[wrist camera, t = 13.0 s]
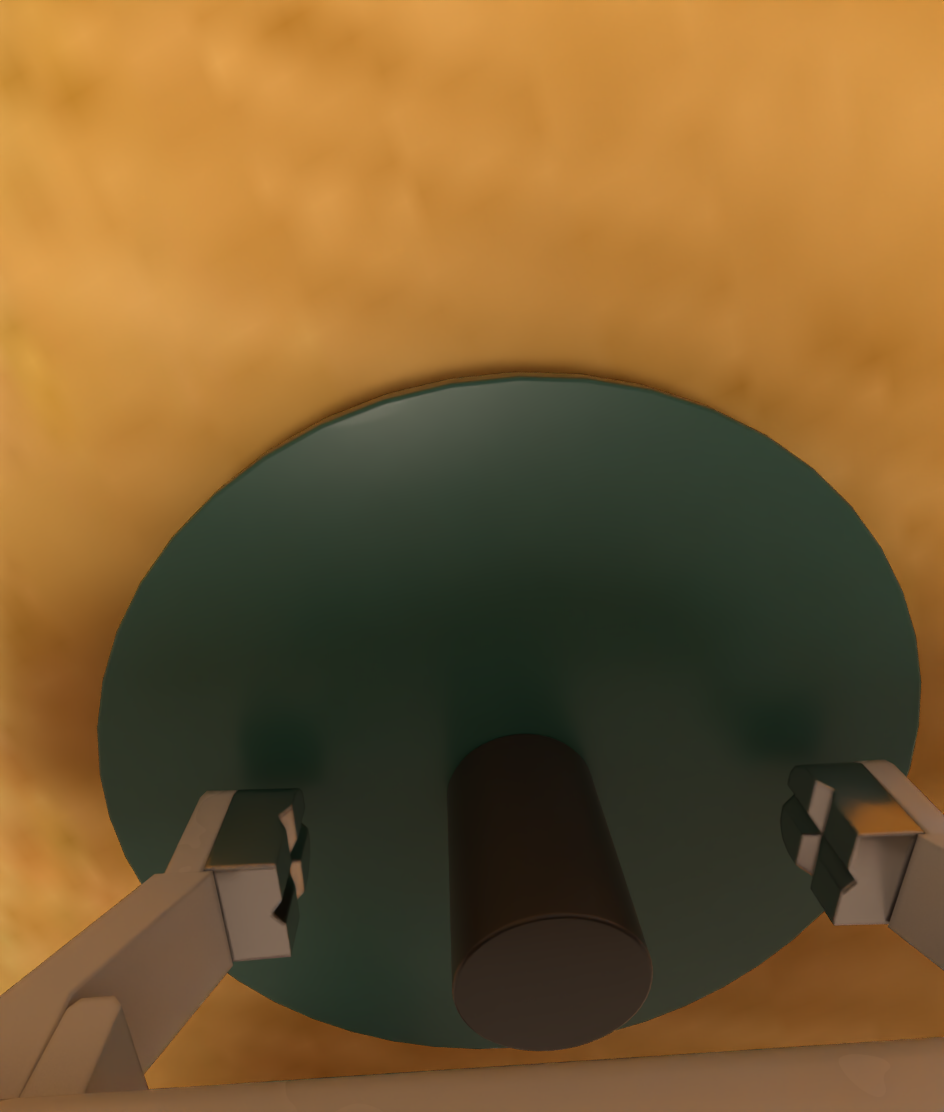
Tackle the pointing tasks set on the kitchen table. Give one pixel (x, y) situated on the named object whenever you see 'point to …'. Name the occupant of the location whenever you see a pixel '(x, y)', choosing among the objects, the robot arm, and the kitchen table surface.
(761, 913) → the lid
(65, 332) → the kitchen table surface
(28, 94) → the kitchen table surface
